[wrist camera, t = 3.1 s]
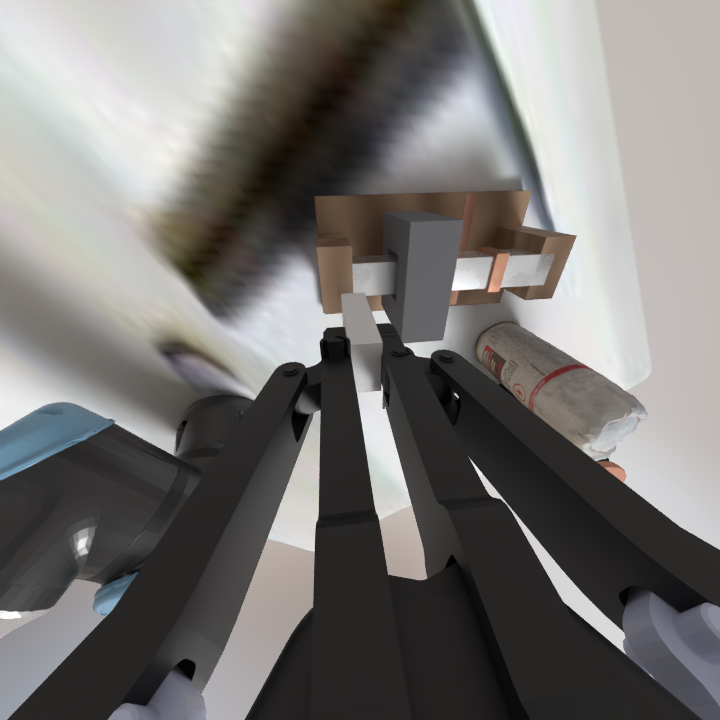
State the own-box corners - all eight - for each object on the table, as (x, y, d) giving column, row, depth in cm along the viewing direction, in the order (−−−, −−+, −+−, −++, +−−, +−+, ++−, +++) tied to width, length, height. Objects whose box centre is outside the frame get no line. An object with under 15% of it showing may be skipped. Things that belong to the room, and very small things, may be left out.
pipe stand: (325, 309, 35) (326, 344, 27) (314, 196, 28) (311, 198, 20) (493, 298, 37) (539, 328, 29) (523, 190, 30) (594, 190, 22)
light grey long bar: (336, 289, 27) (338, 301, 24) (333, 253, 25) (335, 261, 22) (522, 278, 29) (544, 288, 26) (533, 244, 27) (559, 251, 24)
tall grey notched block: (381, 304, 32) (401, 343, 24) (383, 212, 27) (410, 221, 19) (412, 302, 33) (442, 340, 24) (421, 210, 27) (464, 220, 19)
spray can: (487, 315, 39) (611, 410, 22) (534, 321, 40) (683, 413, 24) (466, 362, 43) (555, 471, 26) (509, 365, 45) (619, 470, 28)
